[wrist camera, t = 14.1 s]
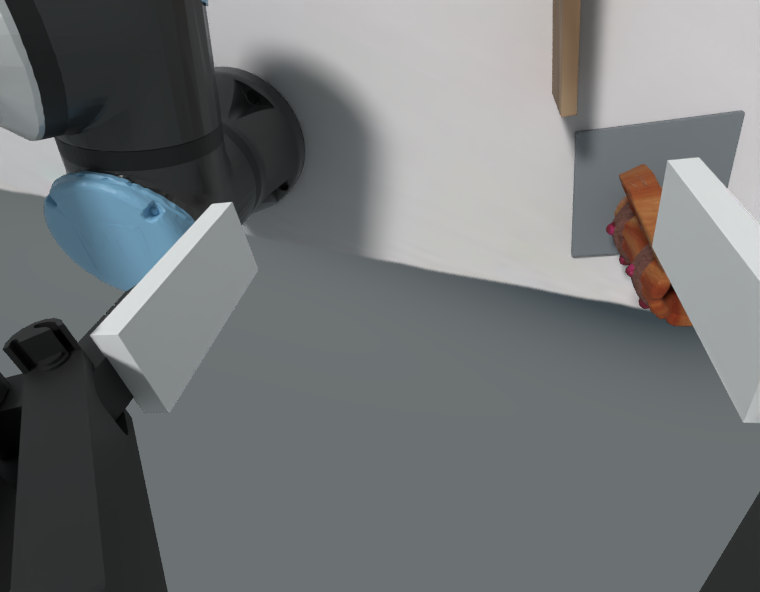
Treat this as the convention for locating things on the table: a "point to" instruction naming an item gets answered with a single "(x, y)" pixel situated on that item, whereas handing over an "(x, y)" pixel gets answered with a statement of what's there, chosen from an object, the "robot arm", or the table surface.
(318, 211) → the table surface
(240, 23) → the table surface
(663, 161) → the rubber mat
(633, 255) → the mug
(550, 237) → the table surface
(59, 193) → the robot arm
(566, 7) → the wooden boards
